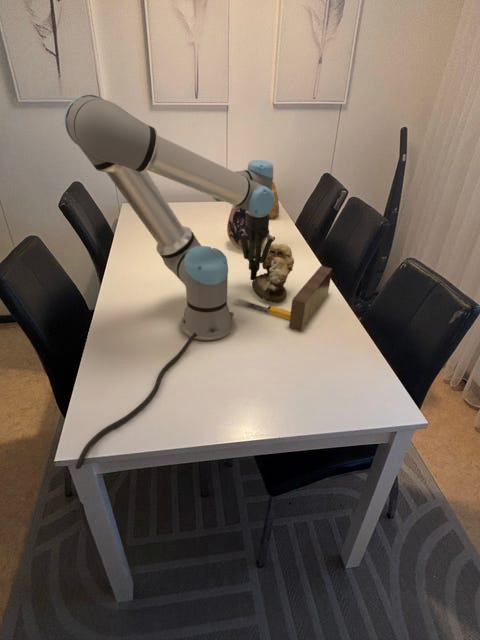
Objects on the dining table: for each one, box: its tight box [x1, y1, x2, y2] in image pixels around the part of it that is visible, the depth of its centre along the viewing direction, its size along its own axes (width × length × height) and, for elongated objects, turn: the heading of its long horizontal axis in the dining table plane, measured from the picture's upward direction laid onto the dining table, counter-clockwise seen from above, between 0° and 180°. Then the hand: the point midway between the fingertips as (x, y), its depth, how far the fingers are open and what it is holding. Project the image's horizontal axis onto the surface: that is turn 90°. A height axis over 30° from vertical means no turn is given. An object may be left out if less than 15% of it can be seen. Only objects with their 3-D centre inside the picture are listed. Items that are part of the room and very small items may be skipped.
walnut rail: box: [288, 265, 333, 332], centre depth 124 cm, size 26×4×10 cm, turn 152°
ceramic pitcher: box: [226, 204, 270, 250], centre depth 163 cm, size 18×21×25 cm
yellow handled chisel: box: [235, 299, 291, 321], centre depth 125 cm, size 20×3×2 cm, turn 62°
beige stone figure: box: [251, 243, 295, 304], centre depth 131 cm, size 18×12×17 cm, turn 10°
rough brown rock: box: [269, 181, 280, 219], centre depth 202 cm, size 23×17×15 cm
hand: (253, 278), depth 137 cm, fingers closed
